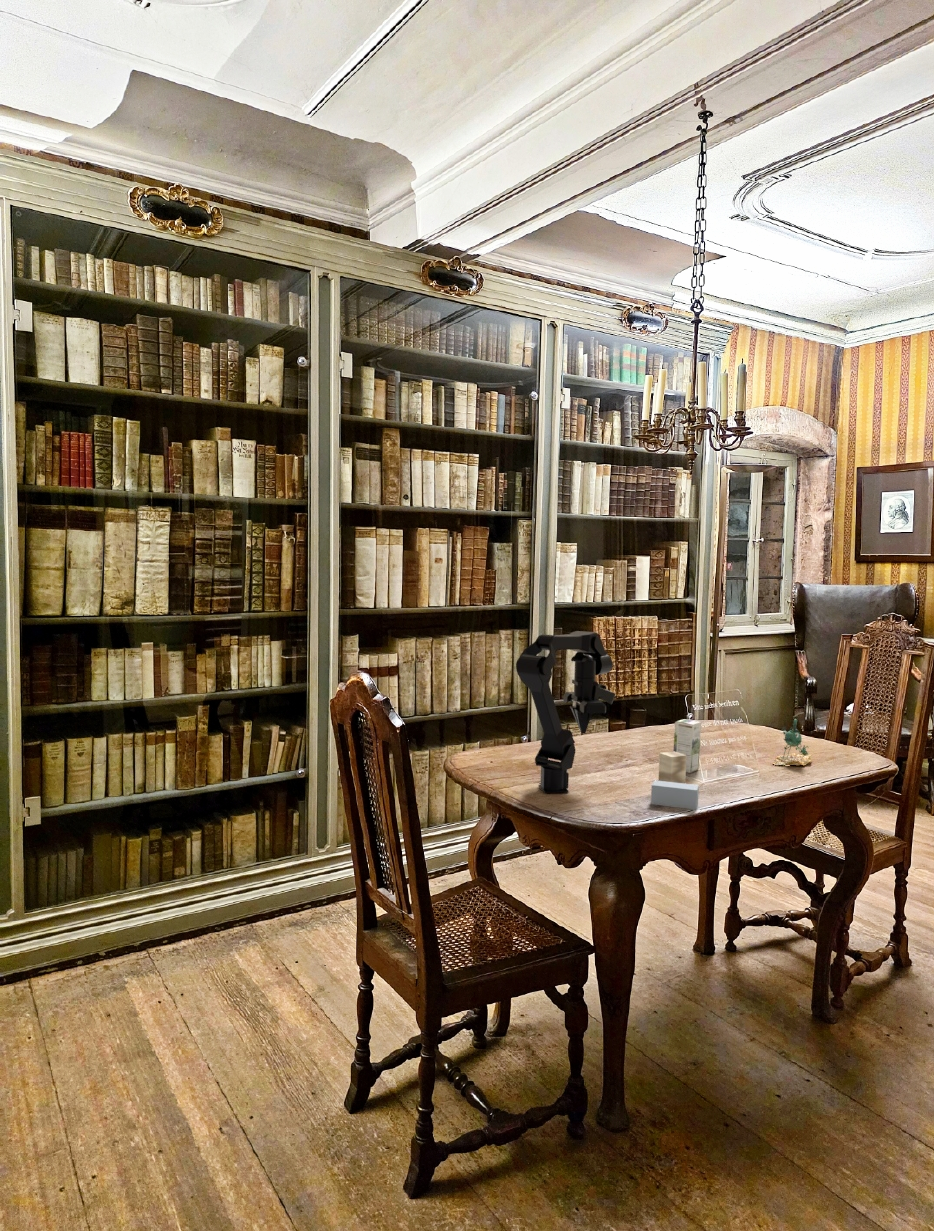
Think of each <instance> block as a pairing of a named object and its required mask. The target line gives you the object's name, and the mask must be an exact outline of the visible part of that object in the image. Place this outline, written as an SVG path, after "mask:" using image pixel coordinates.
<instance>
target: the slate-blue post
mask: <svg viewBox="0 0 934 1231" xmlns="http://www.w3.org/2000/svg"><path fill="white" fill-rule="evenodd" d="M699 787H700V785H699V784H692V783H691V784H690V783H685V784H684V783H675V782H666V781H658V780H653V782H652V784H651V789H650V790H651V791H650V792H651V793H650V794H651V796H650V804H651V805H656V806H664V807H672V808H679V809H680V808H681V809H688V810H697V809H698V806H699V796H700V795H699V793H700V792H699V791H700V788H699Z"/></svg>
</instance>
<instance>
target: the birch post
mask: <svg viewBox="0 0 934 1231" xmlns="http://www.w3.org/2000/svg"><path fill="white" fill-rule="evenodd" d="M658 758H659V760H658V780H657V781H666V782H675V783H684V784H686V775H687V774H686V773H687V772H686V755H684V754H681V753H678V752H675V751H674V750H673V751H665V752H664V751H663V752H659V757H658Z"/></svg>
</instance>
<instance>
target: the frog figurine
mask: <svg viewBox="0 0 934 1231" xmlns="http://www.w3.org/2000/svg"><path fill="white" fill-rule="evenodd" d="M797 723H798V719H797V718H794V720H793V724H792V727H790V729H789V731H787V728H786V727H782V728H781V731H782V734H783V736H784V738H783V740H784V742H785V743H786V746H785V747H784V748H783V749H784V753H783V755H782V754H781V755H778V756H775V757H774V759H773V762H772V763H773V764H778V765H796V766H800V765H803V766H806V765H808V764H809V763H811V762H812V754H809V753H808V751H807V749H809V746H808V745H805V744H803V746H802V741H803V740H802V734H801V732H800V730H799V728H798V729H797ZM792 747H793V748H795V750H796V751H798V752H799V753H798V754H796V753H790V751H791V748H792ZM806 748H807V749H806ZM787 749H789V750H788V752H787V751H786V750H787ZM786 752H787V754H786Z"/></svg>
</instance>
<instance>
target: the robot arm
mask: <svg viewBox="0 0 934 1231" xmlns="http://www.w3.org/2000/svg"><path fill="white" fill-rule="evenodd" d="M599 634H600V633H598V632H596V631H594V632H593V631H584V630H583V631H582V630H580V631H579V630H576V631H572V632H570V633H569V634H560V635H559V634H556V635H555V634H547V633H546V634H544V633H542V634H541V635H538V636H537V638H535V639H536V640H535V641H533V643H531V644H530V645H529V646H527V647H525V648H524V650H522V652H521V654H520V655H519V657H518V659H517V661H516V663H515V670H516V673H517V675H518V678H519V680H520V681H521V683H523V685H525V686H526V687H527V688H528V690H530V693H531V697H532V699H533V702H534V706H535V710H536V713H537V716H538V719H539V724H540V725H541V729H542V733H543V736H542V738H541V741H540V748H539V750H538V752H537V754H536V756H535V757H534V762H535V766H536V767H537V766H538V767H540V784H538V786H537V787H538V788H539V789H540V790H541V791H542V792H543V793H544V794H564V793H565V794H566V793H569V780H570V779H569V777H570V776H569V775H570V774H569V773H568V770H570V769H572V768H573V764H574V761H575V756H576V746H575V743H576V741H575V739H574V737H573V732H572V731H571V730H570V729H564V728H563V727H562V724H561V721H560V717H559V716H560V715H559V714H558V711H557V706H556V703H555V700H554V696H553V693H552V690H551V687H550V681H551V679H552V676H553V671H552V669H553V668H554V666H555V665H556V663H557V654H556V653H557V651H563V650H564V651H565V650H568V651H569V650H570V651H573V652H575V654H574V655H573V656H572V657H571V659H570V661H571V662H574V676H573V677H574V678H573V679H571V684H573V691H566V692H565V693H564V694H563V703H565V704H569V702H572V705H570V706H569V708H570V709H571V712H572V714H573V717H574V719H575V722H576V724H577V726H578V729H579V732H580V734H586V732H587V730H588V727H589V723H590V721H591V717H592V716H593V715H594V714H606V713H607V705H606V704H605V703H604V702H607V703H608V704H610V705H612V704H613V702H614V700H615V697H616V692H613V691H611V690H609V689H608V688H607V685H605V684H601V683H599V682H598V681H596V676H599V675H604V674H605V675H606V674H608V673H610V672H611V671H612V669H613V665H614V664H613V663H614V662H613V660H612V658H611V657H610V655H609V654H608V650H607V649H605V647H604V644H603V641H602V638H601V637H600V636H599ZM542 651H548V652H549V653H548V654H547V656H543V655H539V654H540V653H542ZM603 701H604V702H603Z"/></svg>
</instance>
